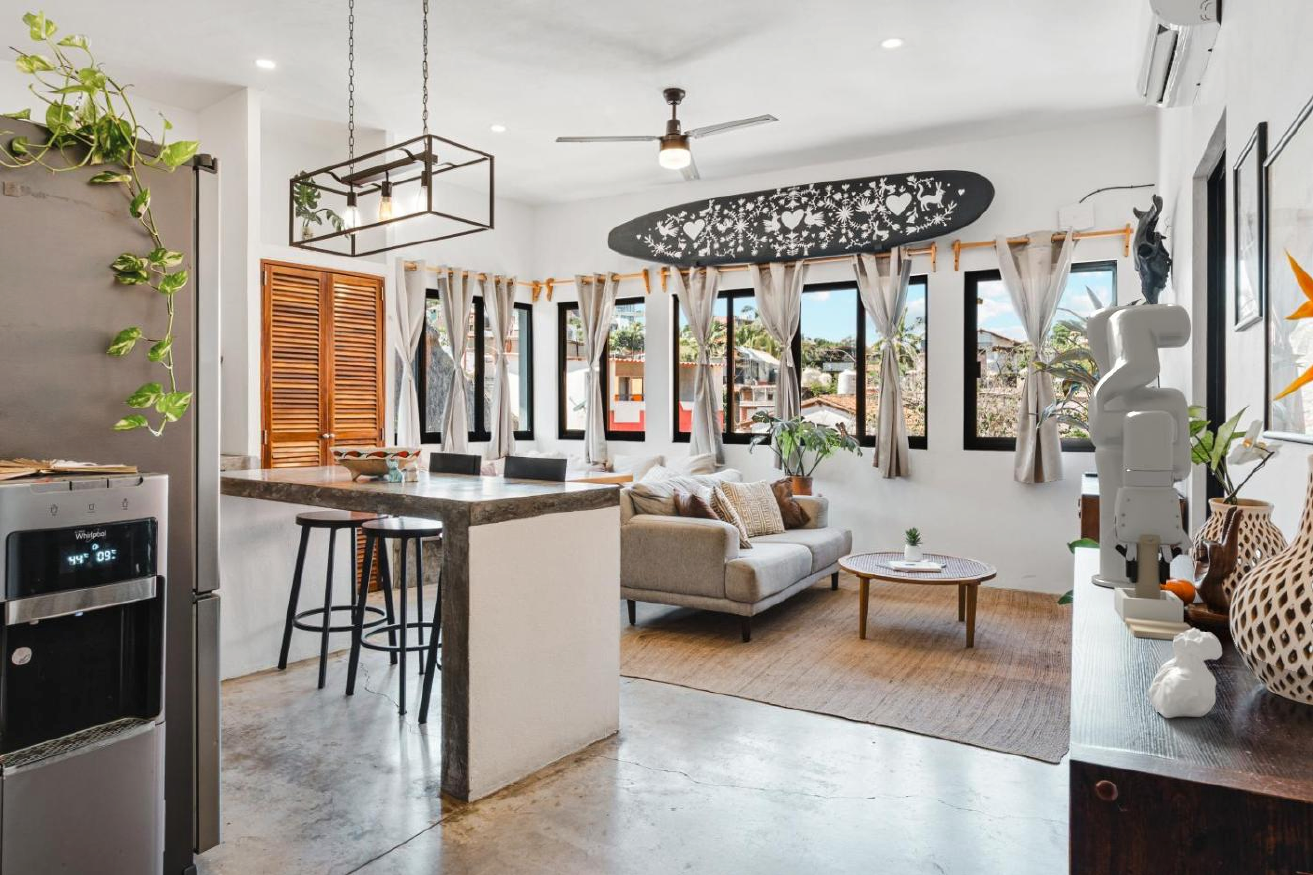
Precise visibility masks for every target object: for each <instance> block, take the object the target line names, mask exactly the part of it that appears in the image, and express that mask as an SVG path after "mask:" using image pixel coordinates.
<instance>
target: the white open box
mask: <svg viewBox="0 0 1313 875" xmlns="http://www.w3.org/2000/svg"><path fill="white" fill-rule="evenodd" d="M1113 590H1114V597H1113V598H1114V601H1113V602H1114V607H1113V609H1114V611H1115V612H1116V613H1117V615H1118V616H1119V618H1121V620H1122V621H1123V622H1125V618H1132V619H1146V620H1160V621H1174V622H1184V601H1183V600H1182V599H1181V598H1179V597H1178V596H1177V595H1176V594H1175V593H1174V592H1172V590H1165V589H1164V590H1161V589H1160V590H1161V592H1160V593H1161V594H1160V600H1158V599H1142V598H1135V589H1131V588H1115V587H1114V588H1113Z"/></svg>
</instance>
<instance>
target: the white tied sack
mask: <svg viewBox="0 0 1313 875" xmlns="http://www.w3.org/2000/svg"><path fill="white" fill-rule="evenodd" d="M1191 628H1192V629H1191V630H1187V631H1185V633H1180V634H1179V635H1178V636H1174V640H1172V645H1171V646H1172V647H1171V648H1172V650H1173V653H1174V654H1175V656H1174V658H1172V659H1171V660H1168V661H1166V662H1165V663H1164V664H1162V665H1161V666H1160V668H1159V669H1158V672H1157V673H1156V674H1155V676H1154V678H1153V679H1152V682H1151V685H1150V687H1149V689H1148V693H1147V694H1148V698H1149V700H1150V703H1151V704H1152V706H1153V708H1154V710H1156V711H1157V712H1159V713H1160V715H1161V716H1162V717H1164V718H1166V719H1171V718H1176V717H1190V718H1191V717H1192V718H1195V717H1197V718H1201V717H1203V716H1204V717H1205V715H1206V714H1208V713H1209V712H1210V711H1211V709H1212V708H1213V707H1214V705H1215V703H1216V697H1217V696H1216V686H1217V680H1216V677H1215V676H1214V675H1213V674H1212V673H1211V671H1210V670H1209V669H1208V666H1207V664H1206V663H1205V662H1204V661H1207V660H1215V661H1216V660H1219V659H1220V658H1221V657H1222V656H1223V648H1222V644H1221V642H1220V640H1219V638H1218V637H1217V636H1216V635H1215V634H1214V633H1212V632H1210V631H1207V632H1205V631H1201V630H1200V629H1199V628H1196V627H1191ZM1156 711H1155V712H1156ZM1159 713H1158V714H1159Z"/></svg>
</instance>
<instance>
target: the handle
mask: <svg viewBox="0 0 1313 875" xmlns="http://www.w3.org/2000/svg"><path fill="white" fill-rule="evenodd" d="M1149 537H1151V538H1152V539H1153V540H1152V541H1149V540H1148V538H1149ZM1139 542H1141V544H1136V548H1137V556H1136V562H1137V583H1135V598H1142V599H1158V600H1160V594H1161V593H1160V592H1161V589H1162V587H1161V585H1162V584H1161V583H1160V570H1159V560H1160V559H1159V558H1160V556H1159V555H1160V554H1159V551H1160V547H1159V546H1160V545H1158V543H1161V539H1160V536H1159V535H1144V534H1141V535H1140V538H1139Z"/></svg>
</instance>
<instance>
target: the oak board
mask: <svg viewBox="0 0 1313 875" xmlns="http://www.w3.org/2000/svg"><path fill="white" fill-rule="evenodd" d="M1124 624H1125V626H1126V627H1127V628H1128V630H1129V631H1130V633H1131V634H1132V635H1133V637H1134V638H1144V639H1145V638H1147V639H1149V638H1150V639H1160V640H1172V641H1173V640H1174V636H1178V635H1179V634H1180V633H1185V631H1187V630H1191V629H1192V628H1193V627H1191V626H1190V625H1189V624H1188V623H1187V622H1184V621H1183V622H1174V621H1160V620H1146V619H1132V618H1125V621H1124Z"/></svg>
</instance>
